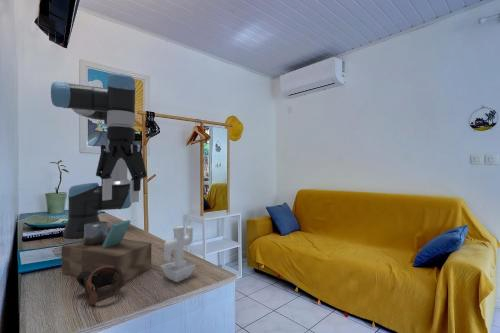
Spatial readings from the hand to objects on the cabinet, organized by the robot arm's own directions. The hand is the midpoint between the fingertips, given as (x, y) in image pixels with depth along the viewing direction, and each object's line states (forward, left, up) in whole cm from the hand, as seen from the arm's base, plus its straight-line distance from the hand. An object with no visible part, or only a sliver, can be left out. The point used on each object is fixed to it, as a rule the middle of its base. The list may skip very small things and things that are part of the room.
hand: (120, 200), depth 77 cm
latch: (0, -1, -10) cm, 10 cm away
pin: (0, -10, -21) cm, 23 cm away
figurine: (-4, +18, -22) cm, 29 cm away
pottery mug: (+12, +6, -22) cm, 26 cm away
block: (0, -5, -22) cm, 22 cm away
